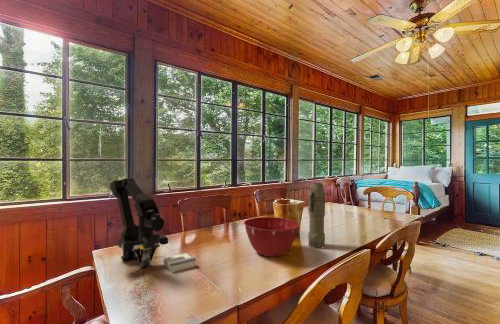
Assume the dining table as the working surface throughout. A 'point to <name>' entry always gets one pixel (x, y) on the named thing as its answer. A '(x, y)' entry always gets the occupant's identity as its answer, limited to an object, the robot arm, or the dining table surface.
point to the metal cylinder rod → (145, 257)
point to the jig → (179, 262)
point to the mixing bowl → (271, 234)
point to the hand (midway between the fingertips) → (145, 261)
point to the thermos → (316, 215)
